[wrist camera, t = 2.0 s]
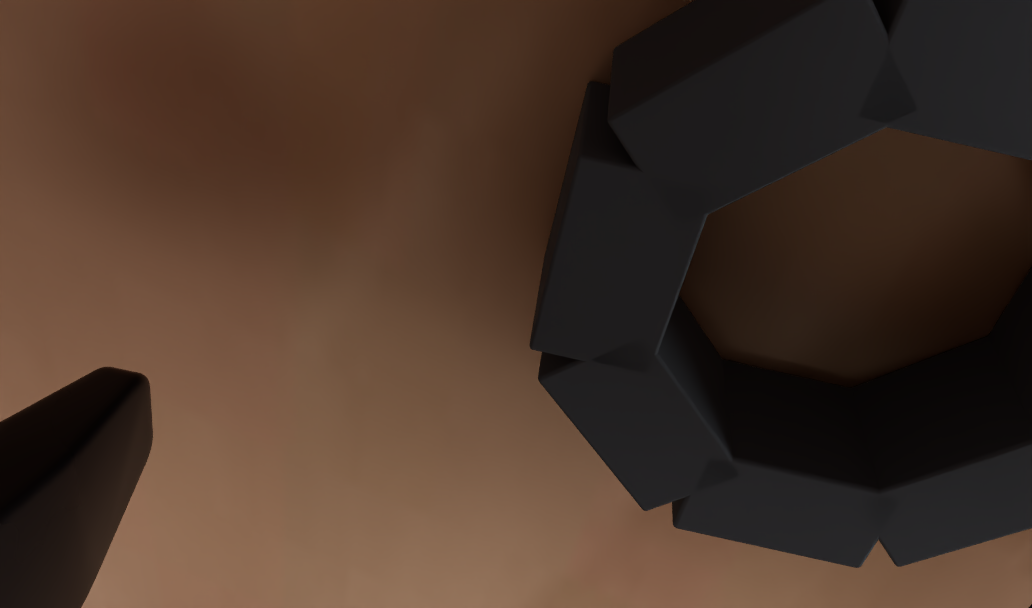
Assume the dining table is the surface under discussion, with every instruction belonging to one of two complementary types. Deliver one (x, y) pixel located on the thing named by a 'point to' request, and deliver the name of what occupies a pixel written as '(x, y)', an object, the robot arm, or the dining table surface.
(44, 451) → the robot arm
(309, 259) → the dining table surface
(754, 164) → the black octagonal ring
